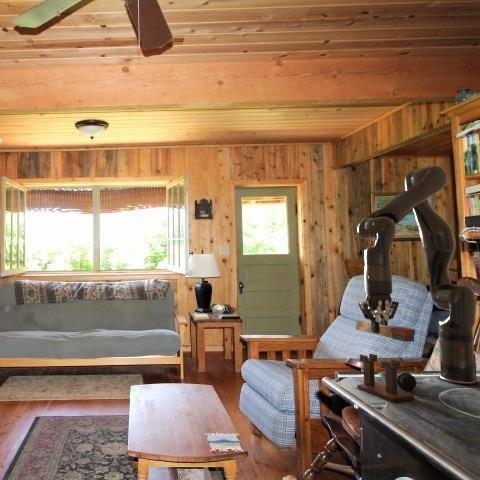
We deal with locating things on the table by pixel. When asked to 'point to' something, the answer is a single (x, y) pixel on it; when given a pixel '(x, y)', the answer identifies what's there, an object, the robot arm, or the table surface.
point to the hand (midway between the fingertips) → (379, 332)
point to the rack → (390, 379)
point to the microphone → (405, 381)
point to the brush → (388, 331)
